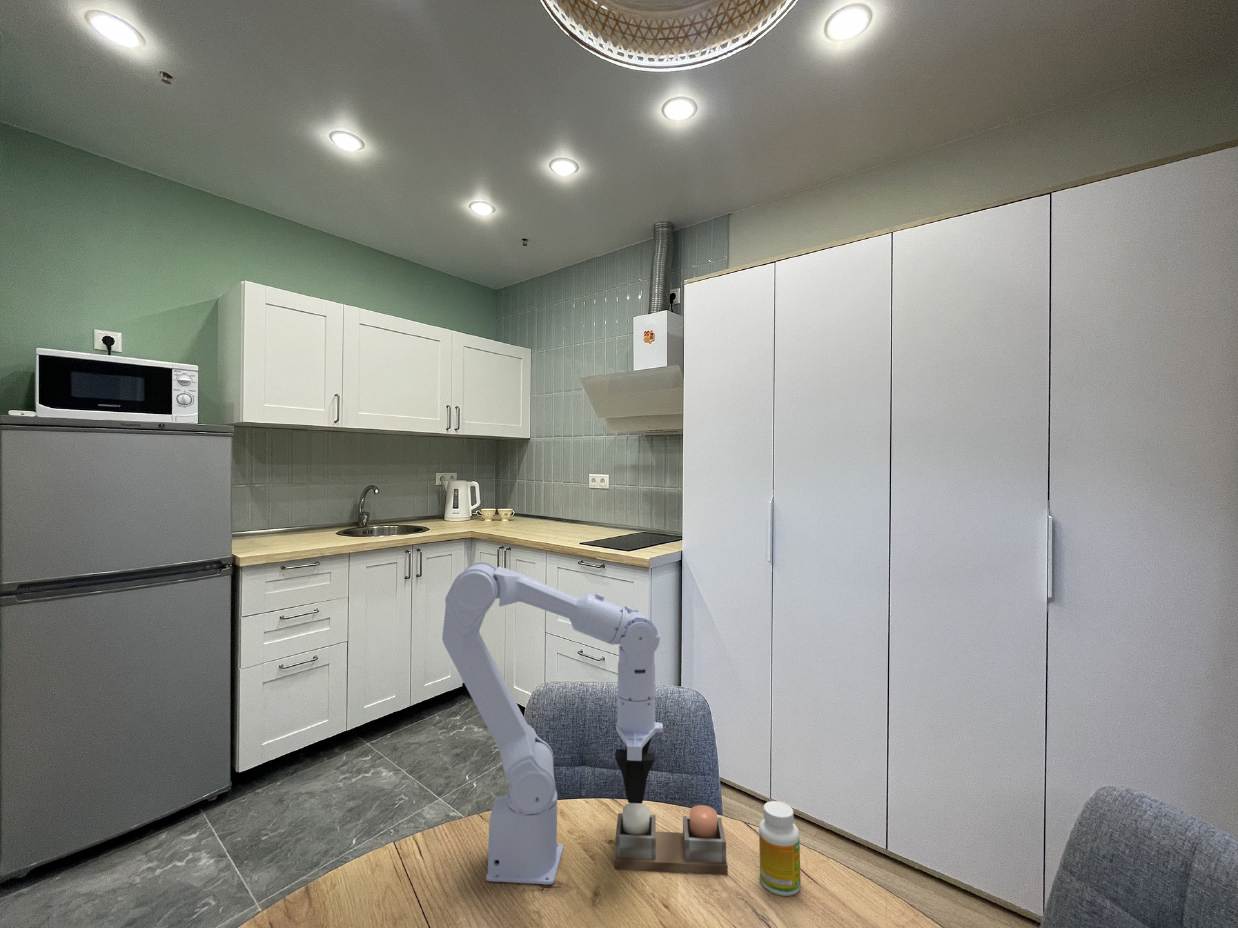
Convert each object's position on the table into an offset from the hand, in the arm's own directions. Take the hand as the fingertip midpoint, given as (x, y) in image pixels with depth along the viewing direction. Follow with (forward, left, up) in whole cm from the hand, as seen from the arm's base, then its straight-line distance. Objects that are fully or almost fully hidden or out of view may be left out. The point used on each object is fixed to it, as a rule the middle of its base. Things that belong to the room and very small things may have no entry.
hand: (636, 787), depth 78 cm
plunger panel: (+5, 0, -9) cm, 11 cm away
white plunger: (0, 0, -6) cm, 6 cm away
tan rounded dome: (+10, 0, -6) cm, 11 cm away
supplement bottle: (+20, -4, -10) cm, 23 cm away
